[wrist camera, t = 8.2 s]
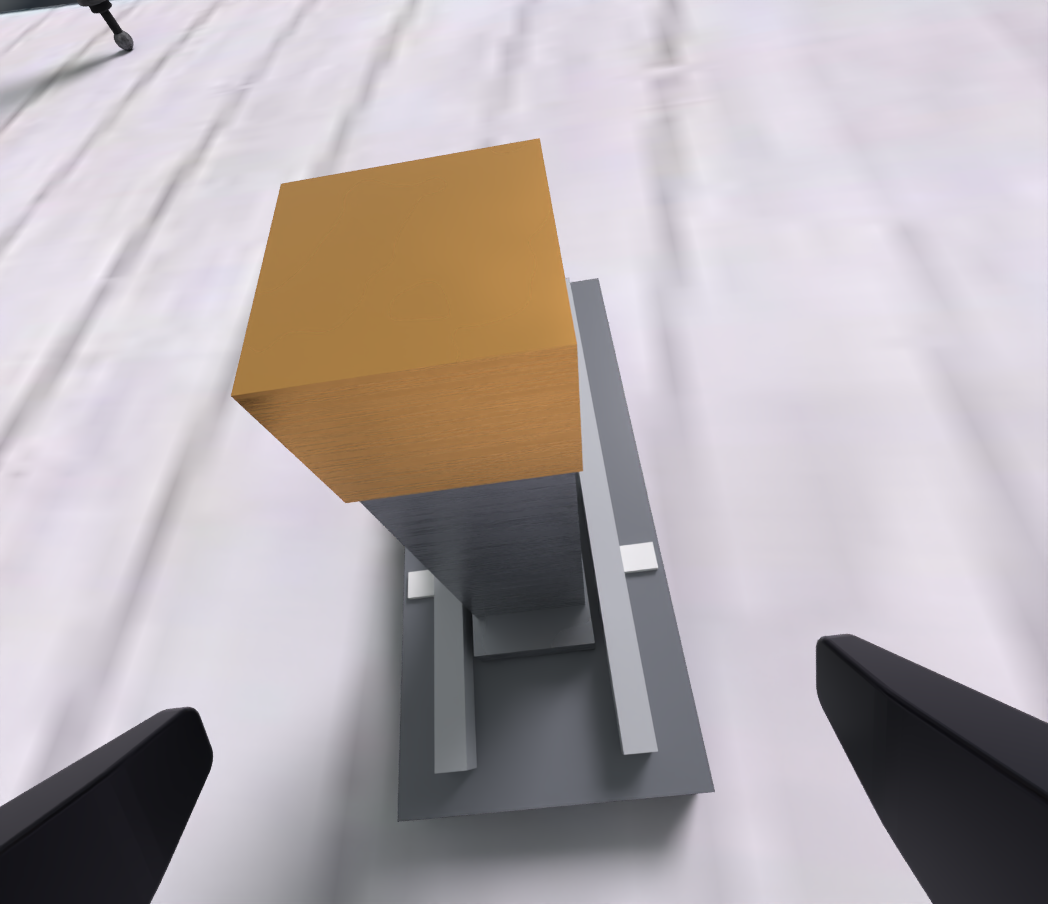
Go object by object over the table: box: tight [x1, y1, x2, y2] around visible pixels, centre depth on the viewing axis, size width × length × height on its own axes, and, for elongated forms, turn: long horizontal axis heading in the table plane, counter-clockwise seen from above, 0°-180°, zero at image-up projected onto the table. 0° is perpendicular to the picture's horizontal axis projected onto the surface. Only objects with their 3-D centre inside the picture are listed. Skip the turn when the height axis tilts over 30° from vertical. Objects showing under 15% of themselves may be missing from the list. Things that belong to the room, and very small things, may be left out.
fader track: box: [398, 278, 715, 822], centre depth 18 cm, size 18×8×3 cm, turn 5°
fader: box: [231, 138, 595, 662], centre depth 11 cm, size 5×3×12 cm, turn 5°
